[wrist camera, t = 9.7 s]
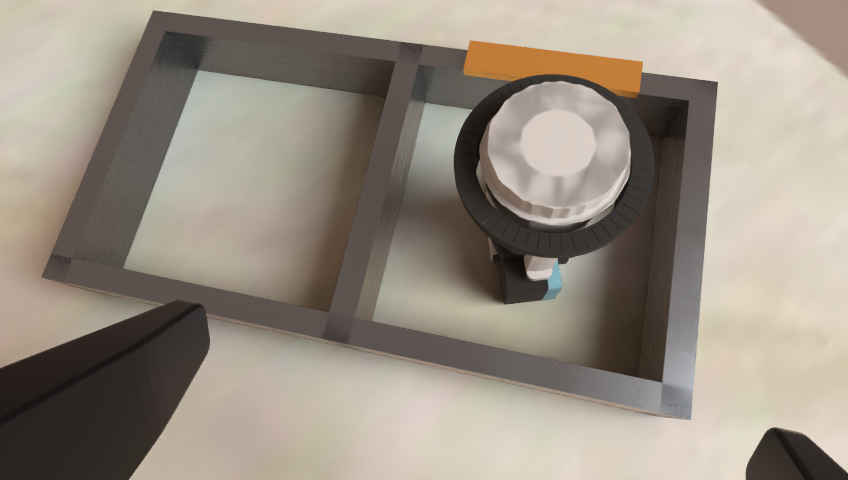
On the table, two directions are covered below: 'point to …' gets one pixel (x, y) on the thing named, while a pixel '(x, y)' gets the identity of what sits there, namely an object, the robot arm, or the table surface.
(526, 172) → the push button
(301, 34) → the grey divided tray
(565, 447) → the table surface
